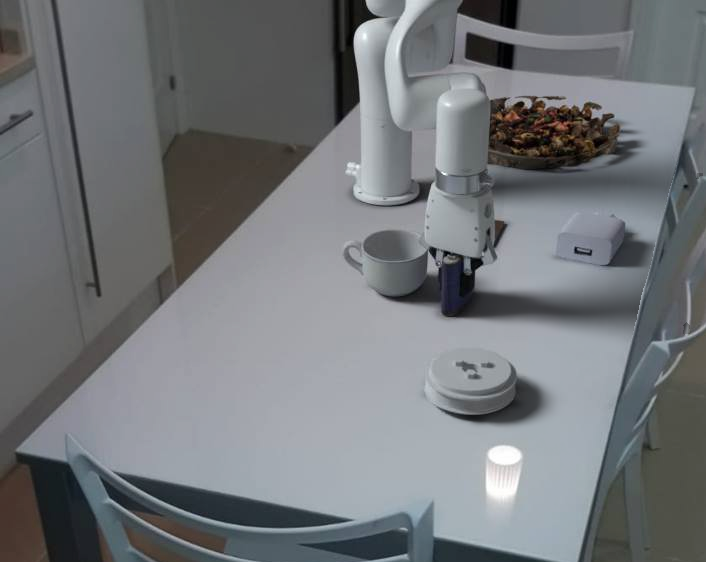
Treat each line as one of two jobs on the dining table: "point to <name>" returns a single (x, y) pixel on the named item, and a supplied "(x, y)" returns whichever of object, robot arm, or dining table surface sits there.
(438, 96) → the robot arm
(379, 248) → the teacup
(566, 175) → the dining table surface
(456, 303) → the dark blue piece
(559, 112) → the food dish
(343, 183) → the dining table surface
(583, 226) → the charger
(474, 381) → the lid
